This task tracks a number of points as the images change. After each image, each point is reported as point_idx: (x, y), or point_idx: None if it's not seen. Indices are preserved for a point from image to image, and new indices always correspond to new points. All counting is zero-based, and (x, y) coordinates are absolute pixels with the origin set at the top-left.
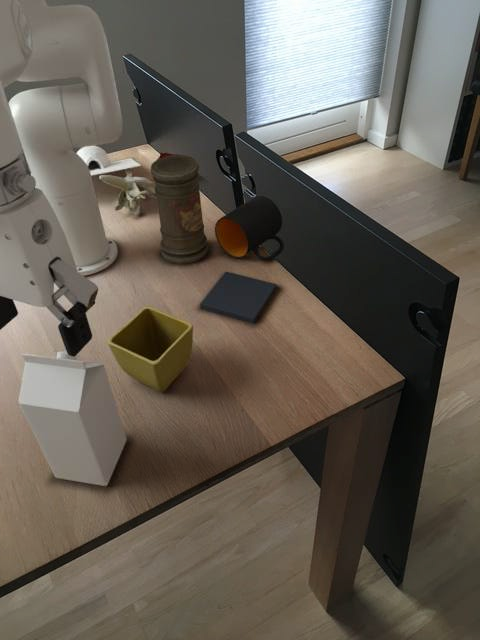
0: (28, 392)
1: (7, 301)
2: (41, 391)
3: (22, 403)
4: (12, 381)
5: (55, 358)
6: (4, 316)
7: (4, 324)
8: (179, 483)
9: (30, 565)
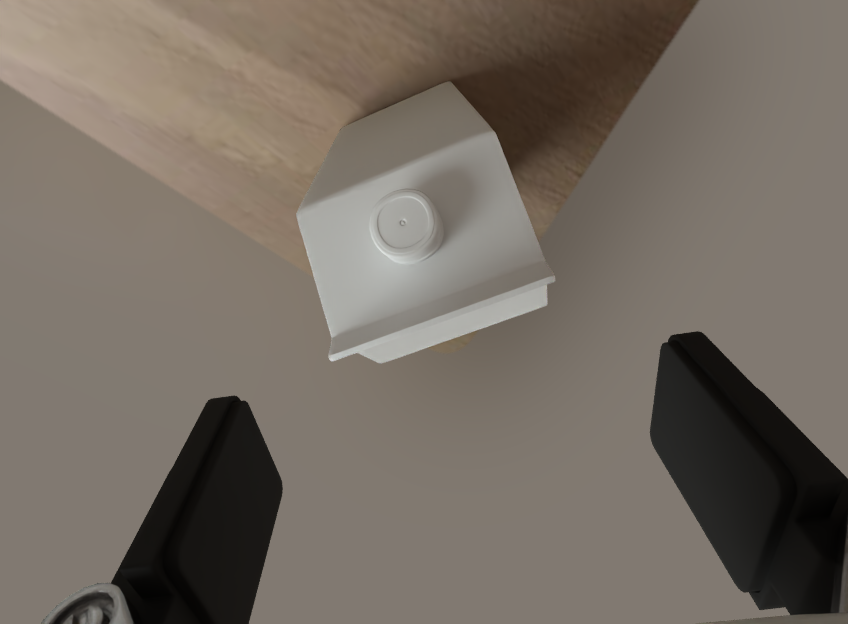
0: (393, 350)
1: (221, 503)
2: (427, 335)
3: (391, 359)
4: (65, 102)
5: (448, 317)
6: (258, 485)
7: (271, 467)
8: (612, 103)
9: (468, 338)
